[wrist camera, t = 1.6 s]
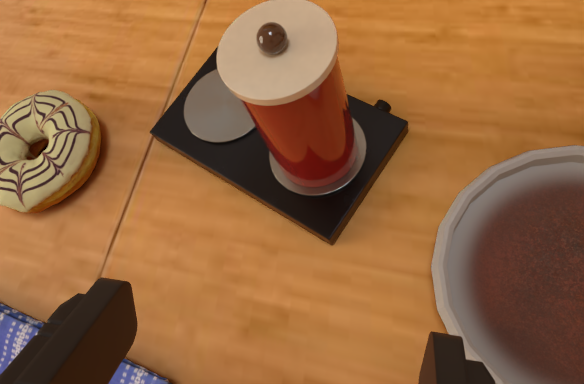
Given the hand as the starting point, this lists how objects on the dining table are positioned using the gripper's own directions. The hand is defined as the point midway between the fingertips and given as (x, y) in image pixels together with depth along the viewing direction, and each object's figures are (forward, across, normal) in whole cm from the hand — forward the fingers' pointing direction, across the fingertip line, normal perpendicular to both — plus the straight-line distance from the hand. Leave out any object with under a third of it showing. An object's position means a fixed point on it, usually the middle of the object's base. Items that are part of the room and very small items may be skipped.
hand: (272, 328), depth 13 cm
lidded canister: (+26, +2, +4) cm, 26 cm away
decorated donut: (+26, +25, +11) cm, 37 cm away
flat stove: (+26, +6, +6) cm, 27 cm away
